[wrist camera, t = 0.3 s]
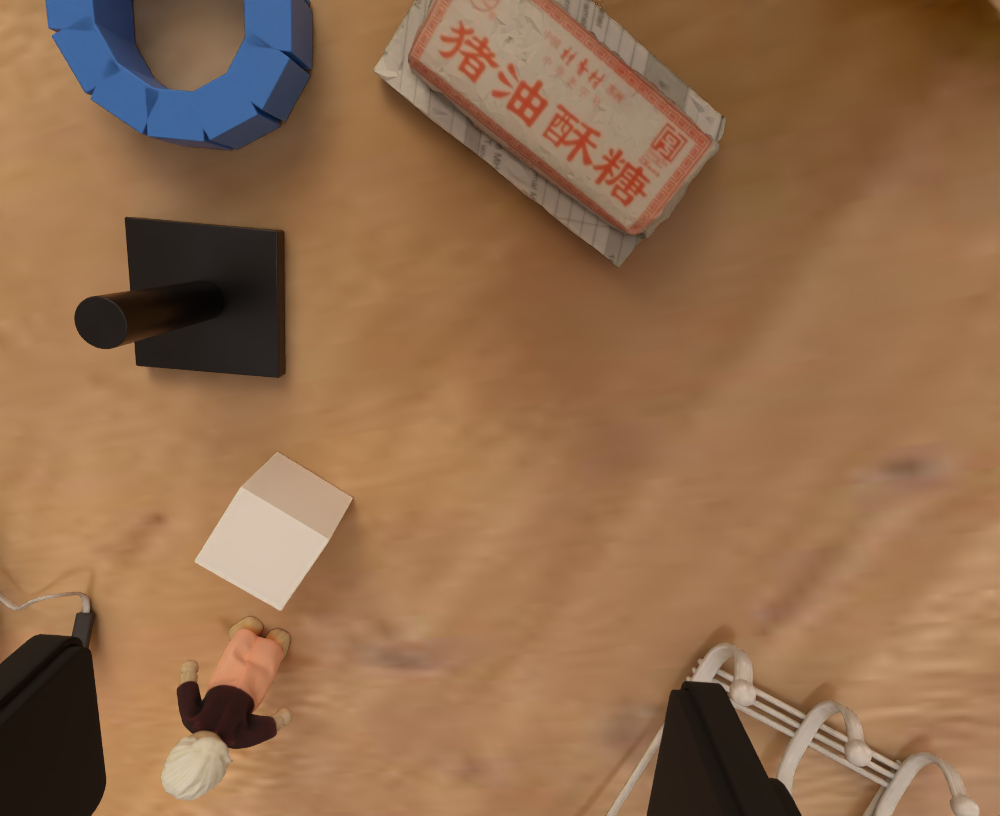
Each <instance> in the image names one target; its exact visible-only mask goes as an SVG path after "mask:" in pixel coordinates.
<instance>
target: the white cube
mask: <svg viewBox="0 0 1000 816" xmlns="http://www.w3.org/2000/svg"><path fill="white" fill-rule="evenodd" d="M352 499H353V498H352V497H351V496H349V495H348V494H346V493H344V492H343V491H341V490H339V489H338V488H336V487H334V486H333V485H331V484H330V483H328V482H326V481H325V480H323V479H321V478H320V477H318V476H317V475H315V474H313V473H312V472H310V471H308V470H307V469H305V468H304V467H302V466H300V465H299V464H297V463H295V462H294V461H292V460H290V459H289V458H287V457H286V456H284V455H282V454H281V453H279V452H276V453H275V454H274V455H273V456H272V457H271V458H270V459H269V460H268V461H267V462H266V463H265V464H264V465H263V466H262V467H261V468H260V469H259V470H258V471H257V472H256V473H255V474H254V475H253V476H251V477H250V478H249V479H248V480H247V481H246V482H245V483H244V484H243V485H242V486H241V487H240V489H239V491H238V492H237V494H236V495H235V497H234V499H233V500H232V502H231V503H230V505H229V507H228V508H227V510H226V511H225V513H224V515H223V516H222V518H221V519H220V521H219V523H218V524H217V526H216V527H215V529H214V531H213V532H212V534H211V536H210V537H209V539H208V540H207V542H206V544H205V545H204V547H203V548H202V550H201V552H200V553H199V555H198V556H197V558H196V560H195V561H194V562H195V563H197V564H199V565H200V566H202V567H204V568H206V569H207V570H209V571H211V572H213V573H215V574H216V575H218V576H220V577H222V578H223V579H225V580H227V581H229V582H230V583H232V584H234V585H236V586H237V587H239V588H241V589H243V590H244V591H246V592H248V593H250V594H252V595H253V596H255V597H257V598H259V599H260V600H262V601H264V602H266V603H267V604H269V605H271V606H273V607H274V608H276V609H278V610H280V611H281V610H282V609H283V607H284V606H285V604H286V603H287V601H288V600H289V598H290V597H291V596H292V594H293V593H294V591H295V590H296V588H297V587H298V585H299V584H300V582H301V581H302V579H303V578H304V577H305V575H306V574H307V572H308V571H309V569H310V568H311V566H312V565H313V563H314V562H315V560H316V559H317V558H318V556H319V555H320V553H321V552H322V550H323V549H324V547H325V546H326V544H327V543H328V541H329V540H330V538H331V537H332V535H333V533H334V531H335V529H336V528H337V526H338V524H339V522H340V521H341V519H342V517H343V515H344V513H345V512H346V510H347V508H348V506H349V505H350V503H351V501H352Z"/></svg>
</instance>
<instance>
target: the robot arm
mask: <svg viewBox="0 0 1000 816" xmlns="http://www.w3.org/2000/svg"><path fill="white" fill-rule="evenodd" d="M105 786H106V773H105V764H104V756H103V747H102V738H101V730H100V721H99V712H98V704H97V695H96V687H95V678H94V669H93V661H92V654H91V651H90V650H89V648H86V647H84V646H83V643H82V641H81V640H80V638H78V637H73V636H60V635H46V634H39V635H35V636H33V637H32V638H30V639H29V640H28V641H26V642H25V643H24V644H23V645H22V646H21V647H19V648H18V649H17V650H16V651H15V652H14V653H12V654H11V655H10V656H9V657H8V658H7V659H5V660H4V661H3V662H2V663H1V664H0V816H91V815H92V814H93V812H94V811H95V810H96V808H97V806H98V805H99V803H100V801H101V799H102V797H103V794H104V791H105ZM647 816H802V815H801V813H800V811H799V810H798V808H797V806H796V804H795V802H794V800H793V798H792V796H791V794H790V793H789V791H788V789H787V788H786V786H785V785H784V784H783V783H782V782H781V781H780V780H778V779H775V778H768V776H767V774H766V772H765V770H764V768H763V766H762V764H761V762H760V760H759V757H758V755H757V753H756V751H755V749H754V747H753V745H752V743H751V741H750V739H749V737H748V735H747V733H746V731H745V729H744V727H743V725H742V723H741V721H740V719H739V717H738V715H737V713H736V711H735V709H734V707H733V705H732V703H731V701H730V699H729V697H728V695H727V693H726V691H725V689H724V687H723V686H722V685H721V684H719V683H710V682H697V681H684V682H683V684H682V686H681V689H680V690H672V691H671V693H670V696H669V702H668V707H667V712H666V717H665V722H664V728H663V733H662V738H661V743H660V749H659V754H658V759H657V764H656V770H655V775H654V780H653V785H652V790H651V796H650V801H649V806H648V811H647Z"/></svg>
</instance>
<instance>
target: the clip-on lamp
mask: <svg viewBox="0 0 1000 816" xmlns="http://www.w3.org/2000/svg"><path fill="white" fill-rule="evenodd" d="M71 595H79V596H80V597H81V598H82V602H83V609H82V612H79V613H77V614H76V618H75V623H74V628H73V632H72V636H73V637H78V638H80V640H81V641H82V643H83V646H84V647H86V648H88V647H89V642H90V637H91V632H92V627H93V622H94V617H95V613H90V601H89V598H88V596H87V595H86V594H84V593H81V592H68V593H60V594H52V595H46V596H41V597H38V598H35V599H32V600H30V601H29V602H27V603H25V604H24V605H22V606H19V605H17V604H15V603H13V602H12V601H11V600H9V599H8V598H7V597H6V596H5V595H4V594H3V593H1V592H0V601H1V602H2V603H3V604H5V605H6V606H7V607H9V608H10V609H13V610H21V609H23V608H26V607H28V606H30V605H31V604H33V603H35V602H37V601H40V600H44V599H50V598H57V597H64V596H71Z"/></svg>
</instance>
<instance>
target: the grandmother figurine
mask: <svg viewBox="0 0 1000 816" xmlns="http://www.w3.org/2000/svg"><path fill="white" fill-rule="evenodd" d="M262 630H263V625H262V623H261V622H260V621H259V620H258V619H256V618H254V617H246V618H244V619H243V620H241V621H240V622H238V623H237V624H236V625H234V626H233V627H232V628H231V629H230V630H229V641H230V642H229V644H228V646H227V647H226V649H225V651H224V653H223V655H222V657H221V659H220V661H219V662H218V664H217V666H216V668H215V670H214V672H213V674H212V676H211V678H210V680H209V683H208V686H207V693H206V695H205V698H204V699H203V700H201V696H200V692H199V687H198V684H197V679H198V676H197V672H198V669H199V665H198V663H197V662H196V661H194V660H188V661H186V662H185V663H184V664H183V665H182V667H181V673H182V675H181V676H180V680H179V687H178V688H177V697H178V706H179V711H180V715H181V718H182V722H183V724H184V726H185V727H186V728H187V729H188V730H189V731H190V732H191V733H192V735H190V736H189V737H183V738H182V739H180V740H179V742H178V744H177V745H176V746H175V747H174V748H173V749H172V750H171V752H170V754H169V756H168V758H167V760H166V761H165V764H164V770H163V771H162V773H161V776H162V778H161V781H162V783H163V786H164V790H165V791H166V792H167V793H169V794H171V795H172V796H174V797H175V798H176V799H183V800H194V799H196V798H198V797H201V796H203V795H204V794H205V793H207V792H208V791H209V790H211V789H212V788H214V787H215V786H216V785H217V784H218V783H219V782H220V781H221V780H222V778H223V777H224V775H225V773H226V769H227V767H228V765H229V763H230V762H232V761H233V760H231V758H230V757H229V750H228V748H232V749H240V748H247V747H251V746H254V745H257V744H260V743H262V742H264V741H266V740H269V739H271V738H273V737H275V736H276V734H277V731H279V730H280V729H281V728H282V726H285V725H287V724H288V723H289V722H290V721H291V717H292V715H291V712H290V711H289V710H288V709H286V708H283V709H280V710H279V711H278V712H277V713H276V714H274V715H272V716H270V717H269V716H258V715H254V714H252V713H253V712H254V711H255V710H256V709H257V707H258V706H259V705H260V703H261V702H262V700H263V698H264V696H265V695H266V693H267V691H268V689H269V687H270V685H271V684H272V682H273V680H274V678H275V675H276V673H277V670H278V668H279V665H280V663H281V661H282V659H283V658H284V657H285V656H286V654H287V651H288V647H289V643H290V635H289V634H288V633H287V632H286V631H283V630H281V629H274V630H272V631H271V632H270V633H269V634H268V636H267V637H266V638H262V637H258V636H259V634H260V633H261V632H262Z"/></svg>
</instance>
